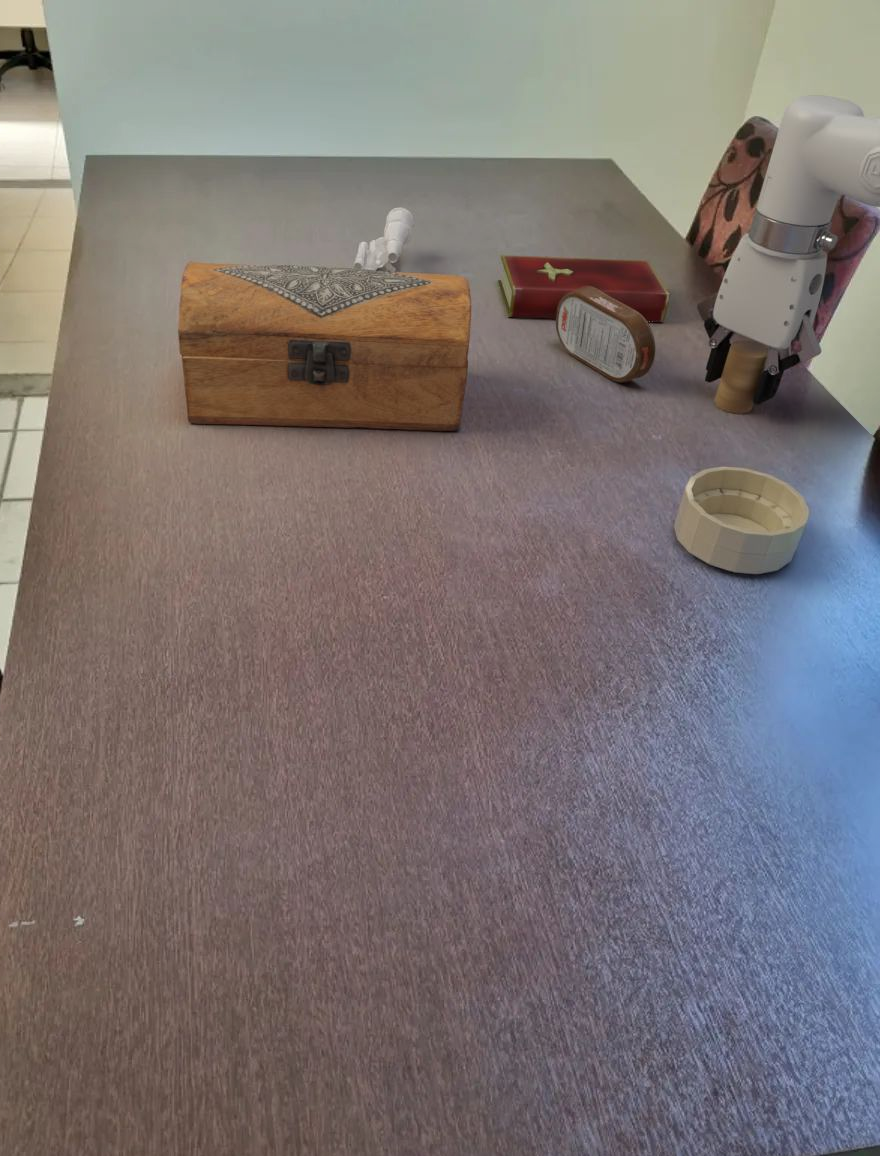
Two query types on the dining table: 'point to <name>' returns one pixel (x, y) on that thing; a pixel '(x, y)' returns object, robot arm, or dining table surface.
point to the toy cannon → (387, 242)
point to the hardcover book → (579, 284)
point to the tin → (605, 334)
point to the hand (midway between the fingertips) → (737, 388)
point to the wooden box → (323, 346)
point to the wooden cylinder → (741, 376)
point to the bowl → (741, 519)
